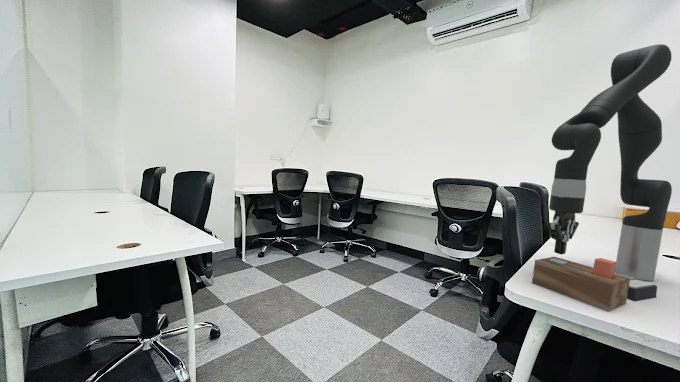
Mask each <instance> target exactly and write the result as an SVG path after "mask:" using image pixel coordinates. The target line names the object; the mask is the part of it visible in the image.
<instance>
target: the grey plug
mask: <svg viewBox="0 0 680 382" xmlns="http://www.w3.org/2000/svg"><path fill="white" fill-rule="evenodd" d="M549 261H550V262H554V263H557V264H560V265H566V264H568V262H565V261H561V260H558V259H551V260H549Z"/></svg>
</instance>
